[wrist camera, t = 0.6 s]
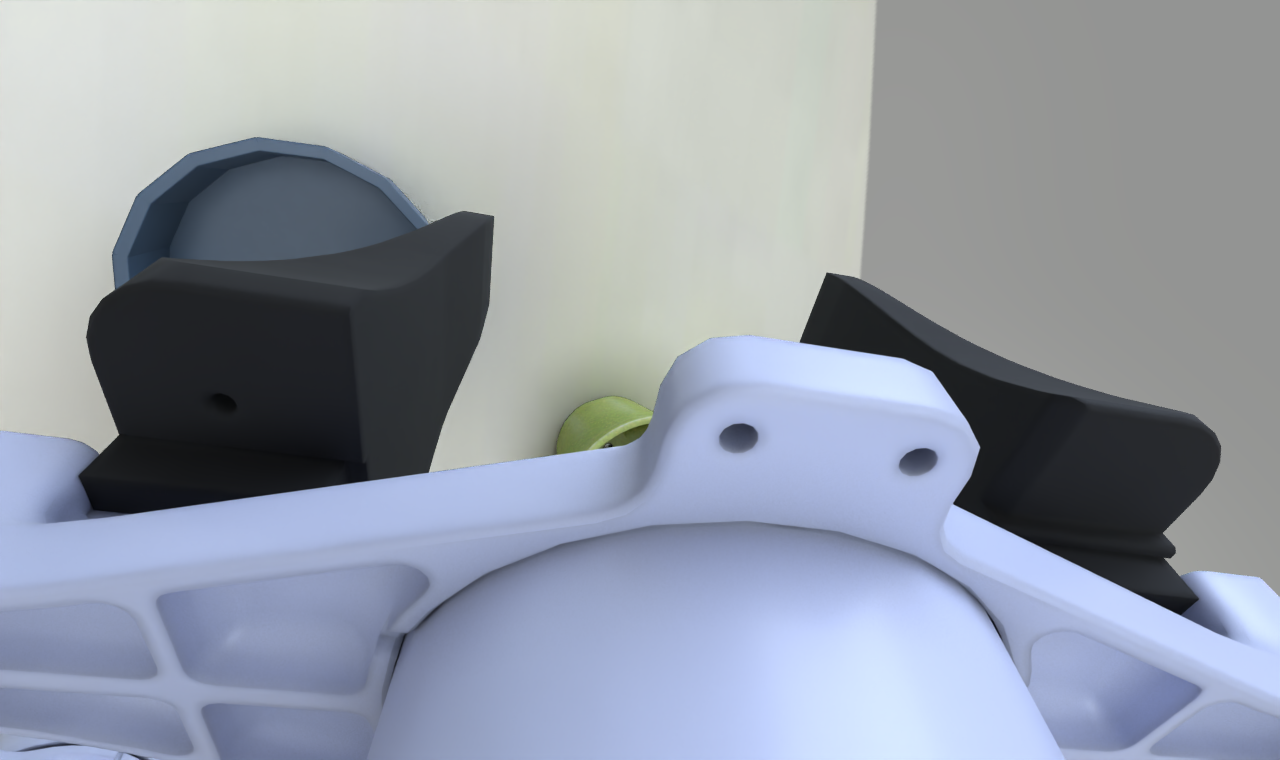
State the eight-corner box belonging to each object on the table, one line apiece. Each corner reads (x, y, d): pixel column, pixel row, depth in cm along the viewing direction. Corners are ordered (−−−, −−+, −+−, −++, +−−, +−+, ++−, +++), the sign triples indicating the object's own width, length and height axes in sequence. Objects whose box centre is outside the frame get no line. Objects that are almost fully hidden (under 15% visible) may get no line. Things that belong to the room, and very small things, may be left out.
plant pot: (496, 481, 36) (519, 563, 28) (577, 339, 35) (623, 383, 27) (628, 533, 40) (680, 618, 32) (703, 407, 39) (776, 462, 31)
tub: (314, 445, 32) (298, 487, 28) (93, 264, 27) (29, 280, 23) (492, 293, 33) (505, 310, 28) (310, 89, 28) (290, 71, 23)
